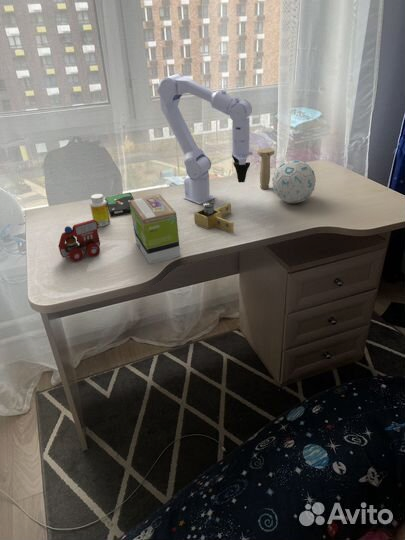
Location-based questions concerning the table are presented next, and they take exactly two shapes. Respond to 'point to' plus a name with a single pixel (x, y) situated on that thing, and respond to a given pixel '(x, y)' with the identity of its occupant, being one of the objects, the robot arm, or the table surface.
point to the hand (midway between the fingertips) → (240, 178)
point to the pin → (208, 208)
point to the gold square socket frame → (215, 219)
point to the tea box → (155, 228)
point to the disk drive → (119, 204)
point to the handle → (265, 166)
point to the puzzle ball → (294, 181)
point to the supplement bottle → (99, 210)
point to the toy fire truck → (80, 241)
